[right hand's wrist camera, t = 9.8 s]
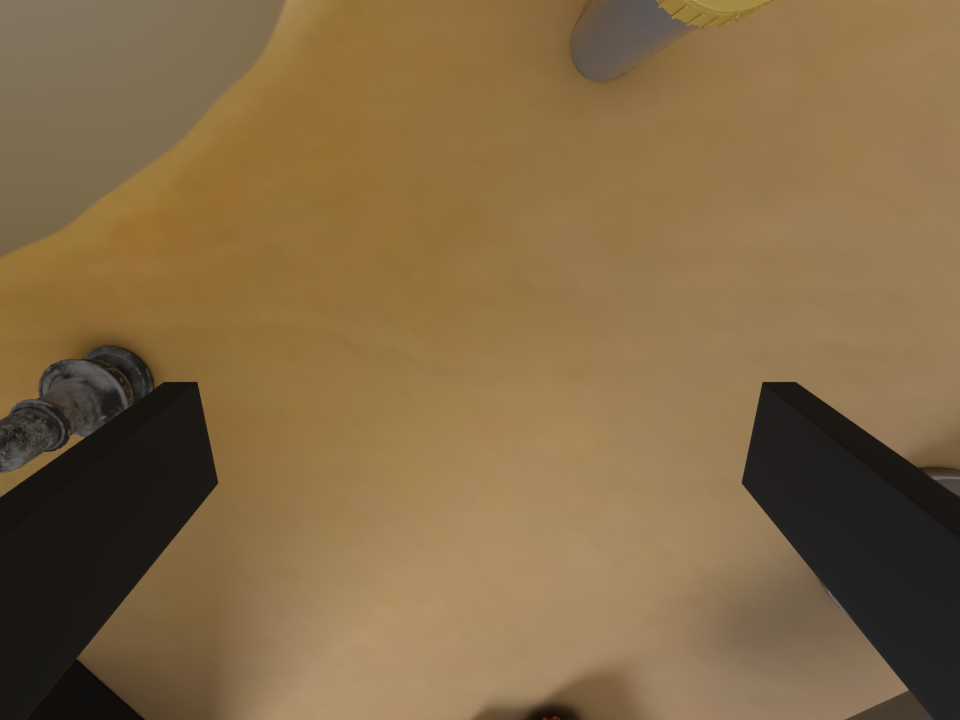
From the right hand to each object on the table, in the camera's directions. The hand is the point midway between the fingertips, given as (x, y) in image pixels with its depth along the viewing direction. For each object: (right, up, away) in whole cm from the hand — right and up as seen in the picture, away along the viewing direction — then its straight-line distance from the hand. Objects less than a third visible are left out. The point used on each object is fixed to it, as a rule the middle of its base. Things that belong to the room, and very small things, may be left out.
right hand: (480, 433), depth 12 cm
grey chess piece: (-27, 0, +27) cm, 38 cm away
